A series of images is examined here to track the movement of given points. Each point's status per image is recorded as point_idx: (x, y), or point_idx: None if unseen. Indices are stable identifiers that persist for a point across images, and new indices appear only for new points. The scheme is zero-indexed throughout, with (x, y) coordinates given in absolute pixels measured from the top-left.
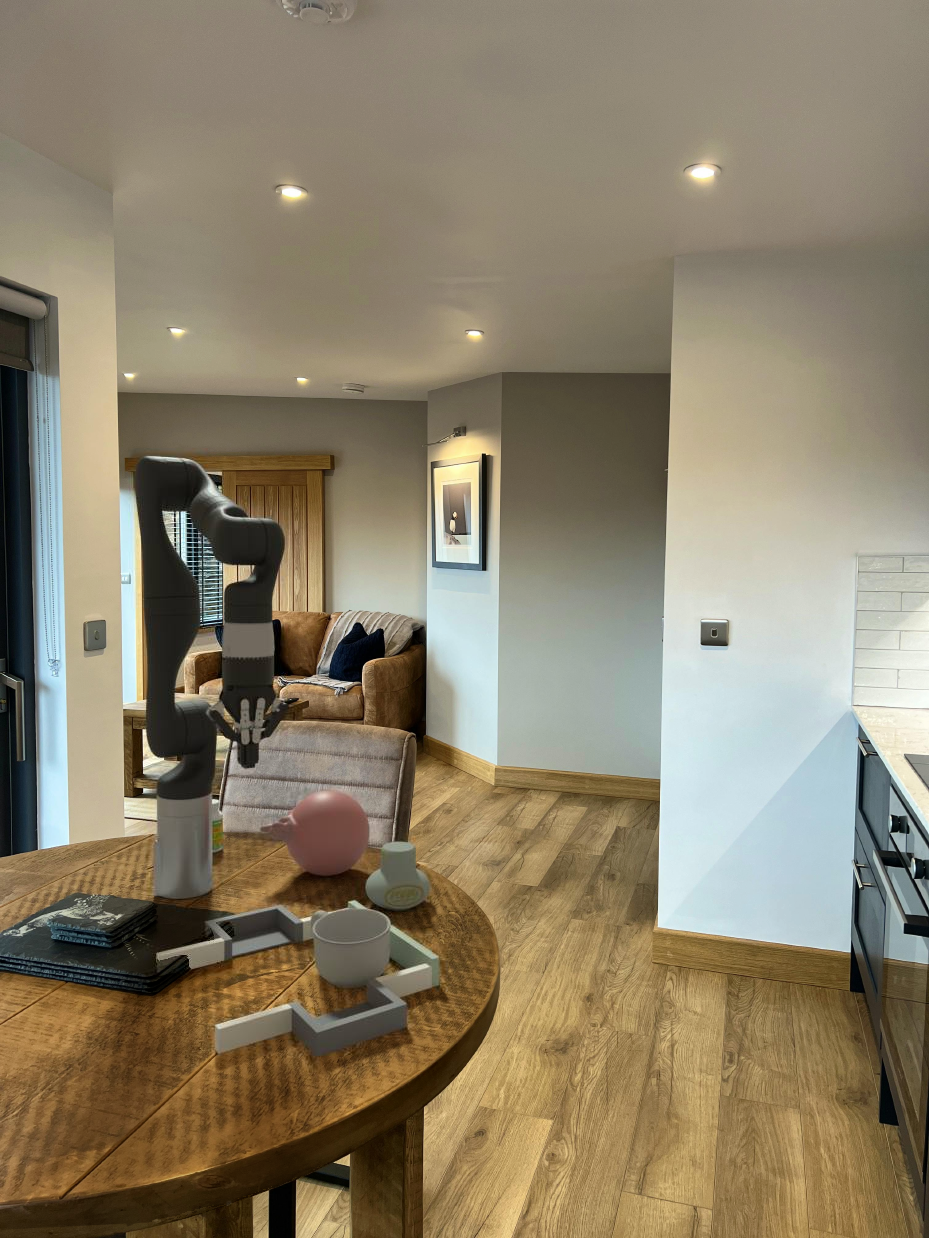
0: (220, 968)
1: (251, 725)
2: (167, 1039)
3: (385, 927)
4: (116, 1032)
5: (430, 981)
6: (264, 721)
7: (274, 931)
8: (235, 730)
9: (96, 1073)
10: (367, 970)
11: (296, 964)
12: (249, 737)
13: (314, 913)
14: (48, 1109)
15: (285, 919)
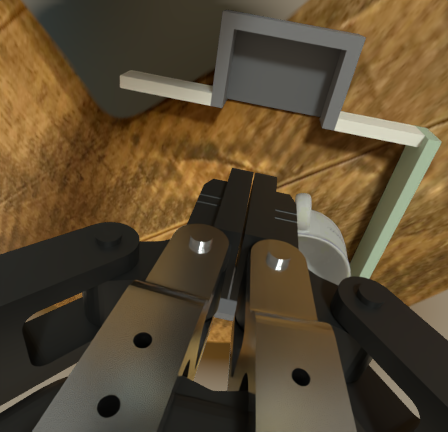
0: (201, 114)
1: (234, 381)
2: (102, 203)
3: (338, 282)
4: (65, 163)
5: None
6: (407, 380)
7: (322, 66)
8: (151, 274)
9: (43, 207)
10: None
11: (276, 170)
12: (241, 292)
13: (297, 212)
14: (9, 222)
15: (333, 87)
